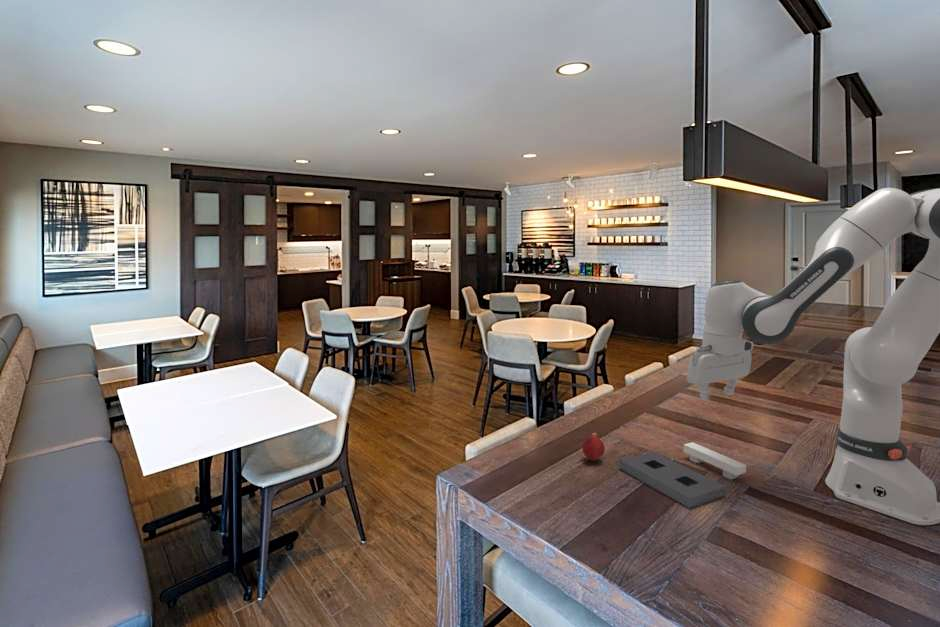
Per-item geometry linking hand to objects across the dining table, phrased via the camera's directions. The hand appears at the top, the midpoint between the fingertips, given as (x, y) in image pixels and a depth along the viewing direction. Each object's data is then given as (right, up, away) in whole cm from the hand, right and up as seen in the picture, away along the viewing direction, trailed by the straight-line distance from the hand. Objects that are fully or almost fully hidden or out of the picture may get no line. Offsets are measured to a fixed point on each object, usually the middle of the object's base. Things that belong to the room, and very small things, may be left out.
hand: (716, 396), depth 130 cm
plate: (-14, -21, -4) cm, 25 cm away
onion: (-30, -19, +8) cm, 36 cm away
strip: (0, -20, +3) cm, 20 cm away
